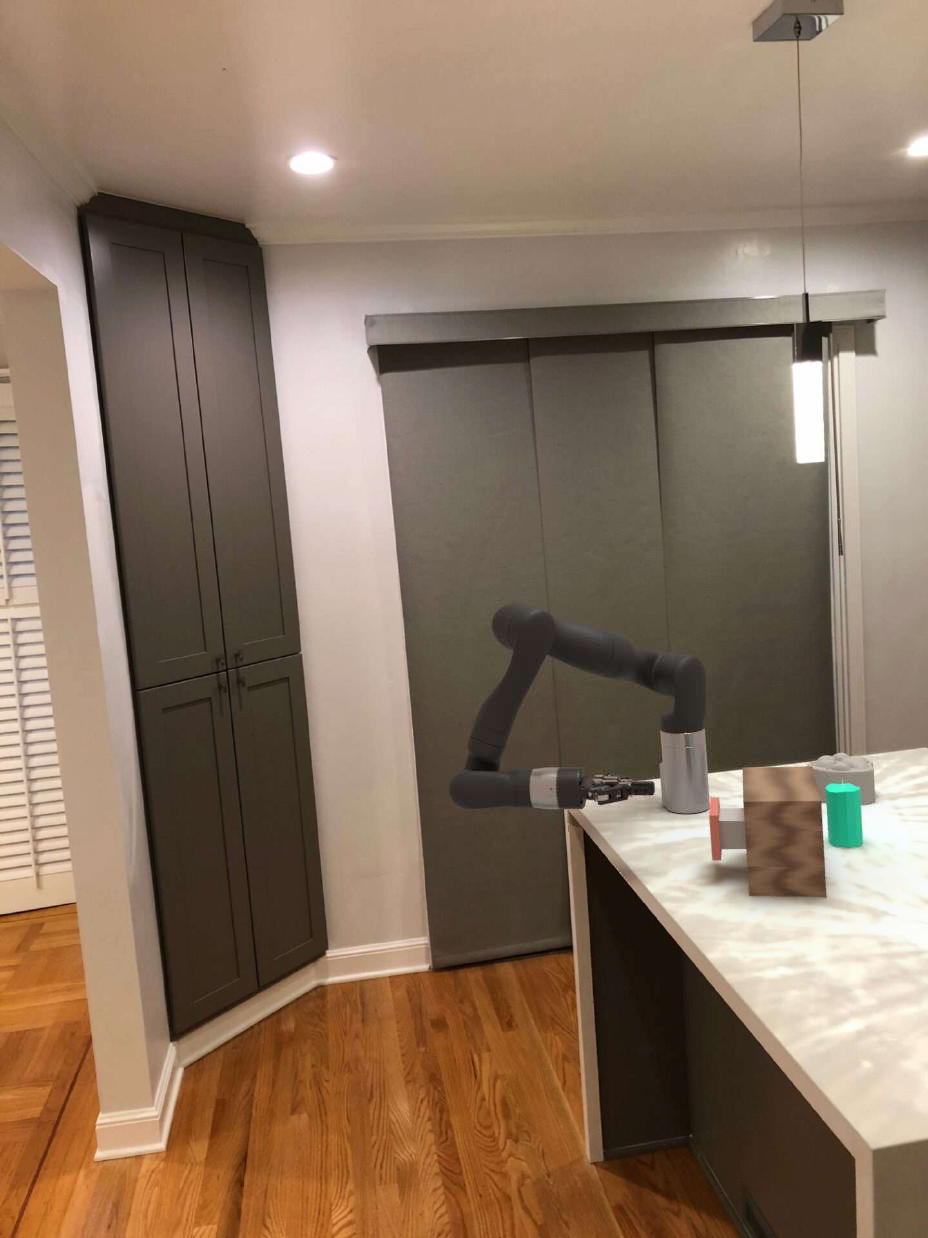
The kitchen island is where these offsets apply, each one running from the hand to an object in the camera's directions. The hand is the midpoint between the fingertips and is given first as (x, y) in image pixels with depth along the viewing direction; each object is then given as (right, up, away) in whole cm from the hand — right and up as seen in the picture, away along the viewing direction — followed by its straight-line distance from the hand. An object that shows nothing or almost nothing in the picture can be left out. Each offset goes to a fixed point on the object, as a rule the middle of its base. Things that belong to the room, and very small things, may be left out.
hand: (654, 788), depth 171 cm
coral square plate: (+15, -10, -3) cm, 18 cm away
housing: (+22, -14, -4) cm, 26 cm away
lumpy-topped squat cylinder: (+46, -8, +33) cm, 57 cm away
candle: (+37, -11, +7) cm, 39 cm away
